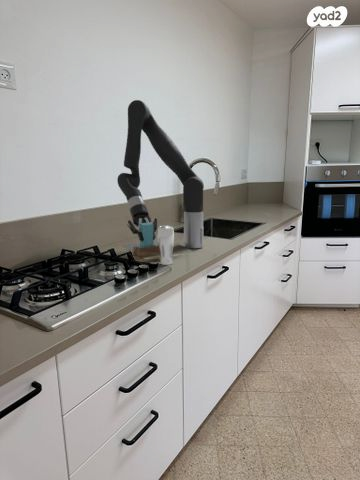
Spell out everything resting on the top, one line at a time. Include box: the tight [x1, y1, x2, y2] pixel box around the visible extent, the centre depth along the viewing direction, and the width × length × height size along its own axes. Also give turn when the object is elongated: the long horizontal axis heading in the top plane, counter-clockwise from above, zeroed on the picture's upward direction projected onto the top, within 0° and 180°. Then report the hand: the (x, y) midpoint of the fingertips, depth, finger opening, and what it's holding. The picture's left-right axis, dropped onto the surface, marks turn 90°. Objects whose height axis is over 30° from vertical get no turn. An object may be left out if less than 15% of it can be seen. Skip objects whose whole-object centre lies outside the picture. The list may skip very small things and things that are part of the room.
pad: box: [122, 243, 140, 251], centre depth 164 cm, size 10×10×1 cm
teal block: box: [139, 222, 155, 248], centre depth 149 cm, size 4×4×12 cm
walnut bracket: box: [124, 243, 159, 263], centre depth 149 cm, size 16×16×5 cm
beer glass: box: [156, 225, 175, 266], centre depth 139 cm, size 7×7×15 cm
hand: (148, 239), depth 148 cm, fingers closed on teal block, 4 cm apart
